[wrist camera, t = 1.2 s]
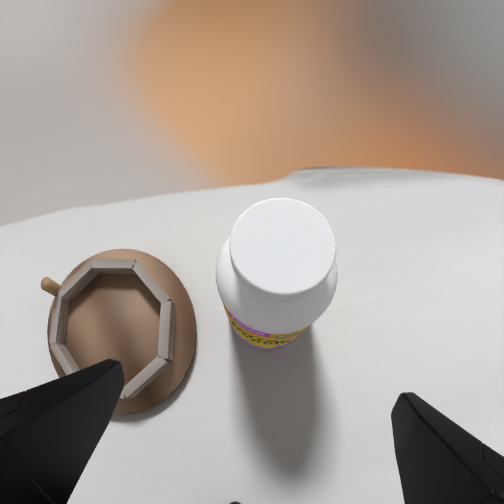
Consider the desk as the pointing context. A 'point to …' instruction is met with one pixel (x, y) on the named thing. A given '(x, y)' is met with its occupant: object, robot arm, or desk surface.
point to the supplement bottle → (277, 271)
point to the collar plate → (124, 324)
